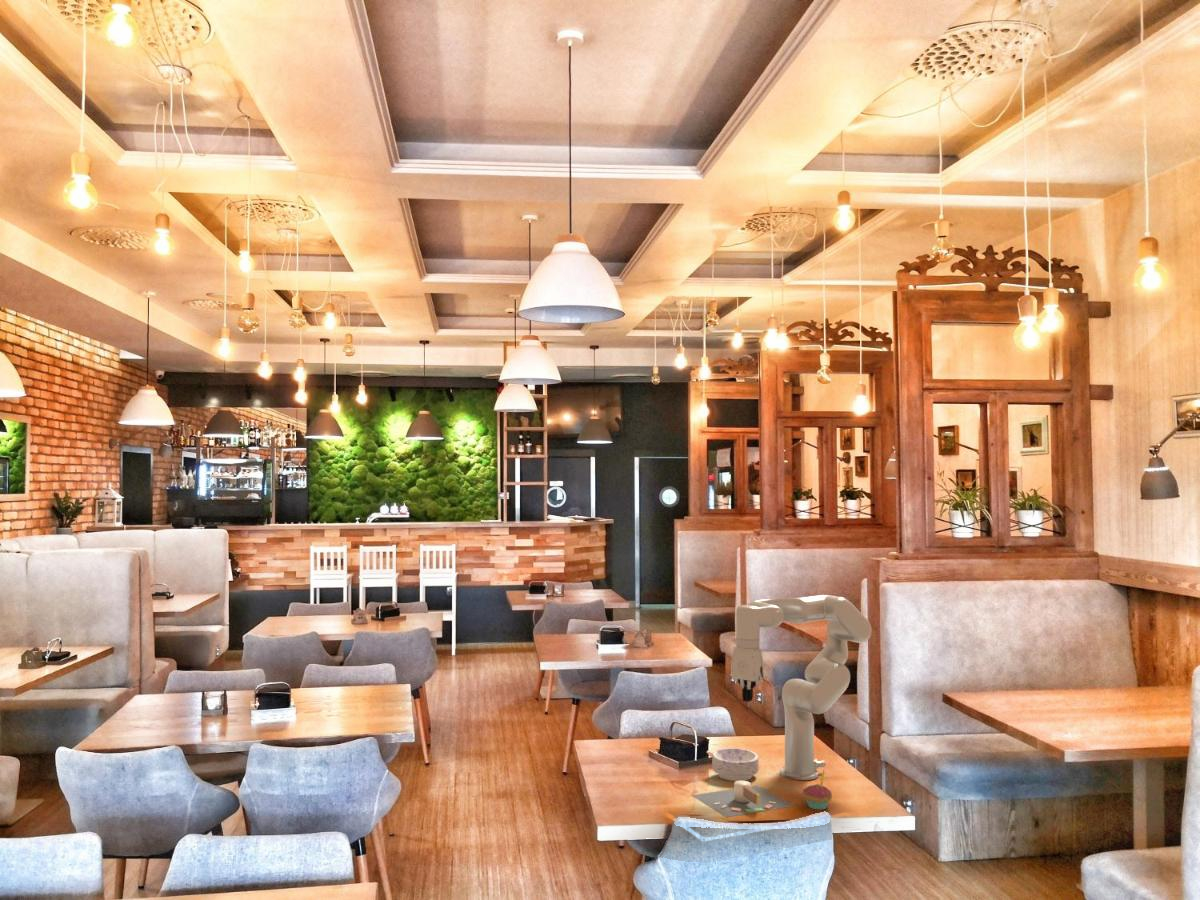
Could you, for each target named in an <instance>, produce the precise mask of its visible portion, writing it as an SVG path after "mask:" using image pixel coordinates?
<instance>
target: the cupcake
mask: <svg viewBox="0 0 1200 900" xmlns="http://www.w3.org/2000/svg"><path fill="white" fill-rule="evenodd" d="M824 778H825V769H823V770H822V772H821V777H820V784H812V785H808V786H807V787H806V786H805V788H804V789H803V790H802V797H803V798H804V799H805V800H806V802H807V805H808V807H809V808H811V809H813V810H814V809H815V810H825V809H826V808H827V806H828V804H829V801H830V802H831V800H832V797H833V795H832V791H831V789H829V788H828V787H826V786H823V783H824Z"/></svg>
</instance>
